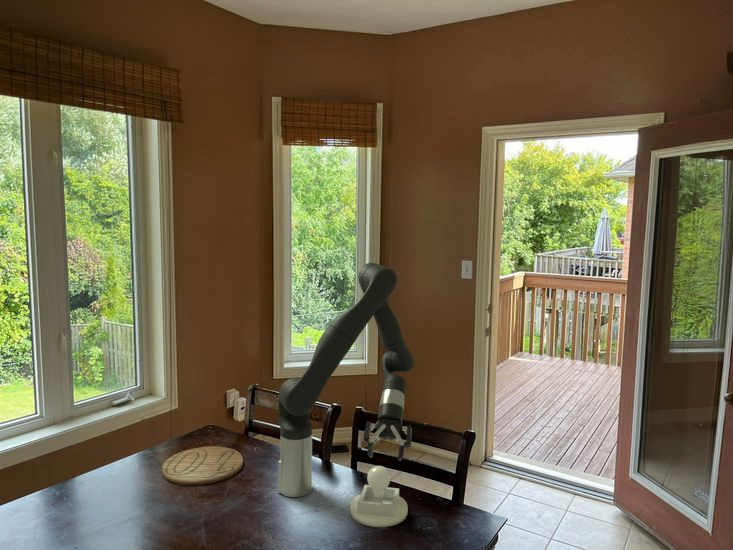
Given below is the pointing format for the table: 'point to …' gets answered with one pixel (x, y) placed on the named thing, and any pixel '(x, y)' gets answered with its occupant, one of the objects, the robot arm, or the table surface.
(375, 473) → the lightbulb
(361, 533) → the table surface
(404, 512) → the lamp base
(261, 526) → the table surface
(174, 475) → the trivet
